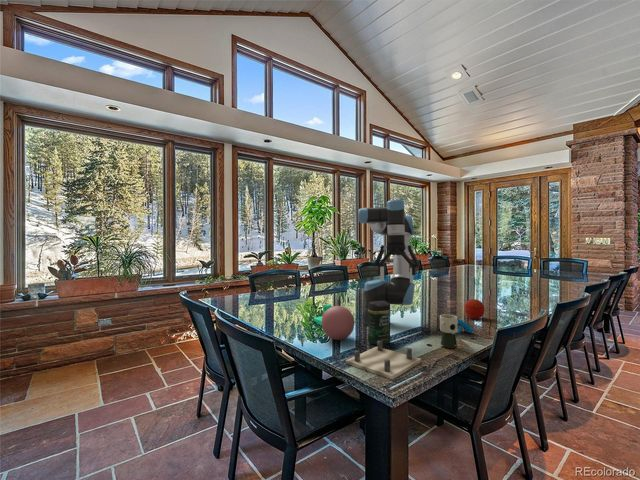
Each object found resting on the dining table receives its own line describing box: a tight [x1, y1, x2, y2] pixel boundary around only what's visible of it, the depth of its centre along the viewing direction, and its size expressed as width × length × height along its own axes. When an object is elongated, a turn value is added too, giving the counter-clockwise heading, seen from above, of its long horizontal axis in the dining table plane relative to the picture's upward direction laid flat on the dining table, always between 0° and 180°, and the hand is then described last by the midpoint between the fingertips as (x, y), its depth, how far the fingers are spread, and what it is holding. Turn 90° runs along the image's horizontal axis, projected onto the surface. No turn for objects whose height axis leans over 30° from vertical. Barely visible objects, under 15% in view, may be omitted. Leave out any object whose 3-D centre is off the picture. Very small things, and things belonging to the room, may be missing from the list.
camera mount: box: [313, 304, 333, 326], centre depth 173 cm, size 12×8×10 cm, turn 35°
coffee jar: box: [367, 301, 391, 346], centre depth 140 cm, size 10×8×19 cm
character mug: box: [439, 313, 459, 349], centre depth 134 cm, size 11×7×13 cm, turn 126°
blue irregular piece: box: [456, 318, 474, 334], centre depth 152 cm, size 11×6×10 cm
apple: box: [464, 298, 485, 320], centre depth 178 cm, size 10×10×12 cm
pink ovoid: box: [320, 305, 355, 341], centre depth 148 cm, size 15×20×15 cm
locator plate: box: [345, 341, 422, 380], centre depth 118 cm, size 20×20×5 cm
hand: (396, 281), depth 142 cm, fingers open, 13 cm apart
